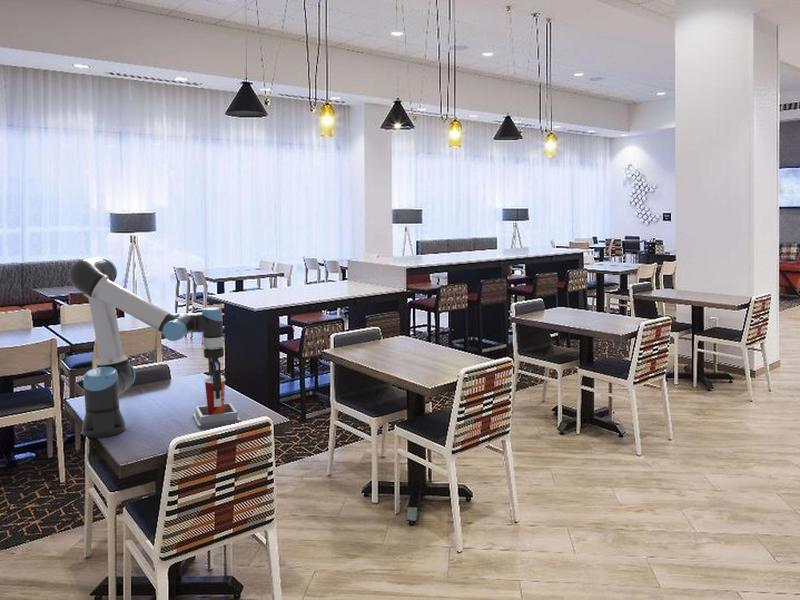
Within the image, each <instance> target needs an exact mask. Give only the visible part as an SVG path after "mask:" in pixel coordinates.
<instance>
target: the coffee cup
mask: <svg viewBox="0 0 800 600" xmlns="http://www.w3.org/2000/svg"><path fill="white" fill-rule="evenodd" d="M203 382H204V385H205V394H206V396H205V397H206V405H207V406H208V414H209V415H213V414H221V413H224V403H225V388H226V387H225V386H226V385H225V384H226V383H225V382H226V377H225V375H224V374H221V385H222V390H221V406H218V407H214V392H213V391H212V390H213V389H214V384H213V375H209V374H208V375H206V376H205V378H204V380H203Z"/></svg>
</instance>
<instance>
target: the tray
mask: <svg viewBox="0 0 800 600" xmlns="http://www.w3.org/2000/svg"><path fill="white" fill-rule="evenodd" d="M192 417H193V419H194V422H195V423H196V426H197V425H198V426H197V427H198V428H199V429H202V428H201V427H203V428H207V427H206V426H210V427H217V426H224V425H232V424H231V423H233V424H236V423H235V422H240V423H242V419H241V418H240V417H239V415H238V411H237V410H236V408H235V407H234V406H233V404H232V402H224V413H221V414H213V415H209V414H208V406H207V404H206V405H200V406H195V413H192Z"/></svg>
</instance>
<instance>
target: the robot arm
mask: <svg viewBox="0 0 800 600" xmlns="http://www.w3.org/2000/svg"><path fill="white" fill-rule="evenodd" d="M117 277H118V270H117V267H116V265H115V264H114V263H113V261H112V260H110V259H109V258H105V257H103V256H94V257H89V258H85V259H80V260H78V261H75V262H74V263H73V264H72V265H71V267H70V268H69V271H68V279H69V281H70V284H71V285H72V286H73V287H74V288H75V289H77V290H78V291H79V292H81V293H82V294H83V296H84V297H86V298H87V299H88V303H89V307H90V308H89V309H90V312H91V319H92V325H93V330H94V335H95V340H96V345H97V352H98V357H99V359H98V360H97V362H96V367H95V368H92V369H89V370H88V371H86V372H85V373H84V375H83V382H82V384H83V394H84V395H83V396H84V406H85V413H84V414H85V415H84V419H83V422H82V426H81V434H82V436H83V437H85V438H96V439H97V438H98V439H99V438H107V437H108V438H109V437H111V436H115V435H118V434H121V433H123V432H125V430H126V421H125V419H124V416H123V414H122V412H121V410H120V397H119V396H120V395H122V394H123V393H124V392H126V391H128V390H129V389H130V388H131V387H132V386H133V384H134V382H135V380H136V369H135V368H134V366H133V365H131V364H130V362H129V357H128V356H127V355H125V354H124V351H123V346H122V341H121V336H120V335H121V334H120V331H119V326H118V325H119V324H118V318H117V314H116V313H117V312H116V309H118V310H120V311H122V312H124V313H125V314H127V315H129V316H131V317H133V318H134V319H137V320H138V321H140V322H142V323H144V324H146V325H148V326H149V327H151V328H153V329H155V330H157V331H158V332H160V333H162V335H163V337H164V338H165V339H166V340H168V341H170V342H176V341H179V340H182V339H183V338H184V337H185V336H187V335H188V334H190V333H202V342H203V343H202V344H203V357H204V358H205V359H207V361H208V363H207V364H208V376H209V375H213V384H214V389H213V390H212V391H213V392H214V407H218V406H221V390H222V385H221V375H222V373H221V367H222V365H221V361H219V359H220V358H223V357H224V356H225V355H224V354H225V352H224V351H225V349H224V341H225V339H226V338H225V337H224V332H223V331H224V330H223V329H224V327H223V326H224V325H223V324H224V323H223V321H224V319H223V310H222V309H221V308H220V307H217V306H216V307H214V306H213V307H212V306H211V307H203V308H202V310H201V312H200V313H197V312H196V313H195V312H194V313H191V312H189V313H188V312H187V313H183V312H179V313H173V314H172V313H170V312H168V311H167V310H164V309H163V308H161V307H159V306H158V305H155V304H154V303H151V302H150V301H148V300H146V299H145V298H143V297H141V296H139V295H137V294H135V293H134V292H132V291H130V290H128V289H126V288H124V287H123V286H121V285H120V284H117V283H116V282H115V281H116V279H117Z"/></svg>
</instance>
